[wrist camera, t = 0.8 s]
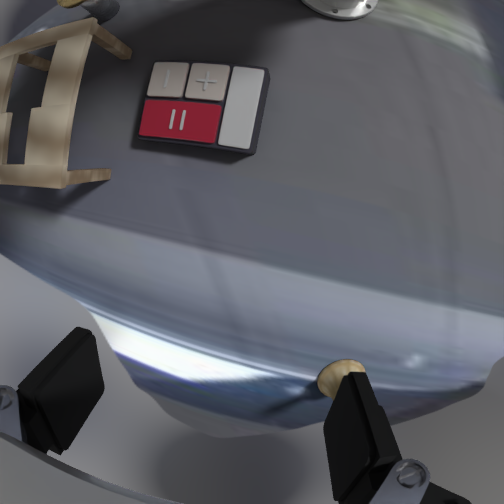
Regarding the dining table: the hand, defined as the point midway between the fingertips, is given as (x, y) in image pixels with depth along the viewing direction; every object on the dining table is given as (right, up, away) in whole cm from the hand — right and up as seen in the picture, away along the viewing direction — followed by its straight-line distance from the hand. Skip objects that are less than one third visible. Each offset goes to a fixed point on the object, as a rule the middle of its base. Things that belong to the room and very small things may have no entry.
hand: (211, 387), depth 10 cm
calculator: (-5, +24, +26) cm, 35 cm away
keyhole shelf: (-26, +26, +26) cm, 44 cm away
